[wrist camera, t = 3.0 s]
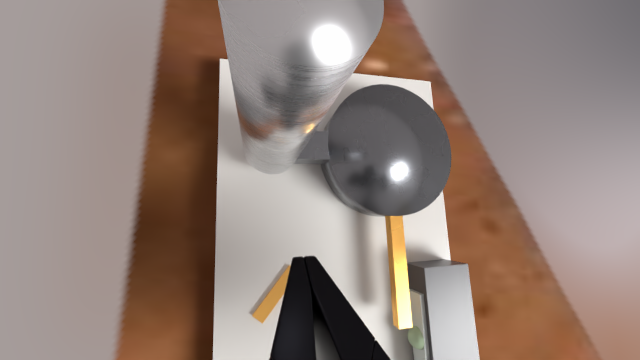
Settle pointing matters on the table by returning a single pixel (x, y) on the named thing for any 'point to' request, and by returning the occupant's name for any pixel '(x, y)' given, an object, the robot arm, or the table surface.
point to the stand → (327, 251)
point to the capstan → (347, 121)
